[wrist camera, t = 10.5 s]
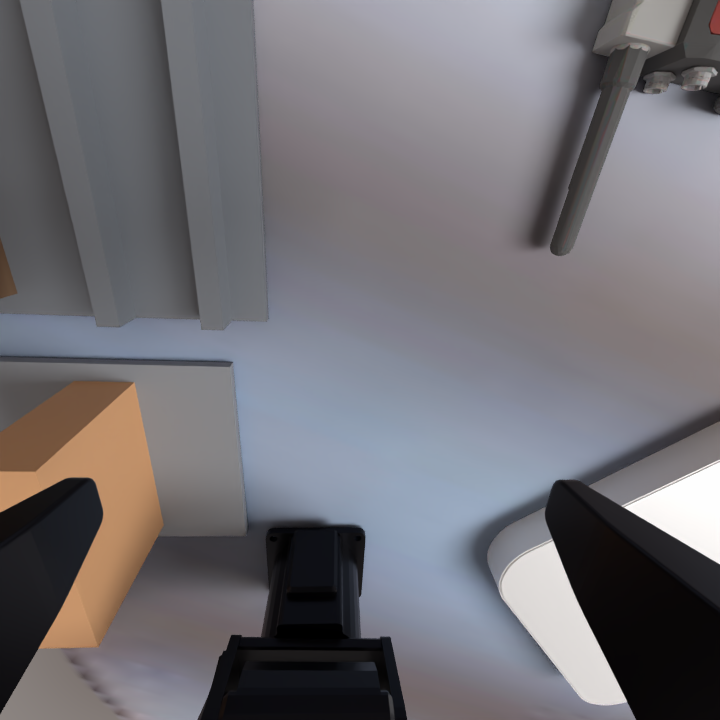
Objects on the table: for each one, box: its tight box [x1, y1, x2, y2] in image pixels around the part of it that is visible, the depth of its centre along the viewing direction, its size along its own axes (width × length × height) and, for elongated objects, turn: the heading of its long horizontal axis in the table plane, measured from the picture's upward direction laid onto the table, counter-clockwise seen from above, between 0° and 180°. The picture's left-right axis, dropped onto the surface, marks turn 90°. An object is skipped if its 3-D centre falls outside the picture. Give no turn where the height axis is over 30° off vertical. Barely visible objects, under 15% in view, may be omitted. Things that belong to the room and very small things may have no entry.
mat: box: [0, 357, 248, 537], centre depth 22 cm, size 12×13×1 cm
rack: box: [0, 0, 269, 330], centre depth 15 cm, size 13×15×2 cm
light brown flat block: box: [0, 381, 164, 649], centre depth 18 cm, size 10×3×7 cm, turn 177°
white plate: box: [487, 421, 720, 705], centre depth 28 cm, size 22×22×3 cm
